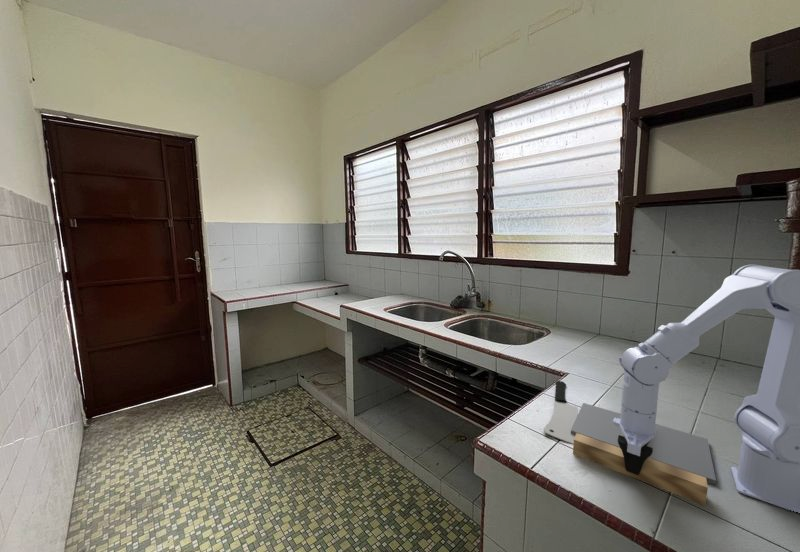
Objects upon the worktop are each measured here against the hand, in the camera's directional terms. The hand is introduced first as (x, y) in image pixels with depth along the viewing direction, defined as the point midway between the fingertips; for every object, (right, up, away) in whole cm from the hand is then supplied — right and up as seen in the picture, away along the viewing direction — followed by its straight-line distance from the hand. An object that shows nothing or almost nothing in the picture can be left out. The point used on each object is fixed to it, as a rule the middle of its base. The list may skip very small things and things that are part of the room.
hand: (633, 466), depth 66 cm
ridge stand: (+9, 0, +11) cm, 14 cm away
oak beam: (0, -2, 0) cm, 2 cm away
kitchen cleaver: (-1, +1, +24) cm, 24 cm away
